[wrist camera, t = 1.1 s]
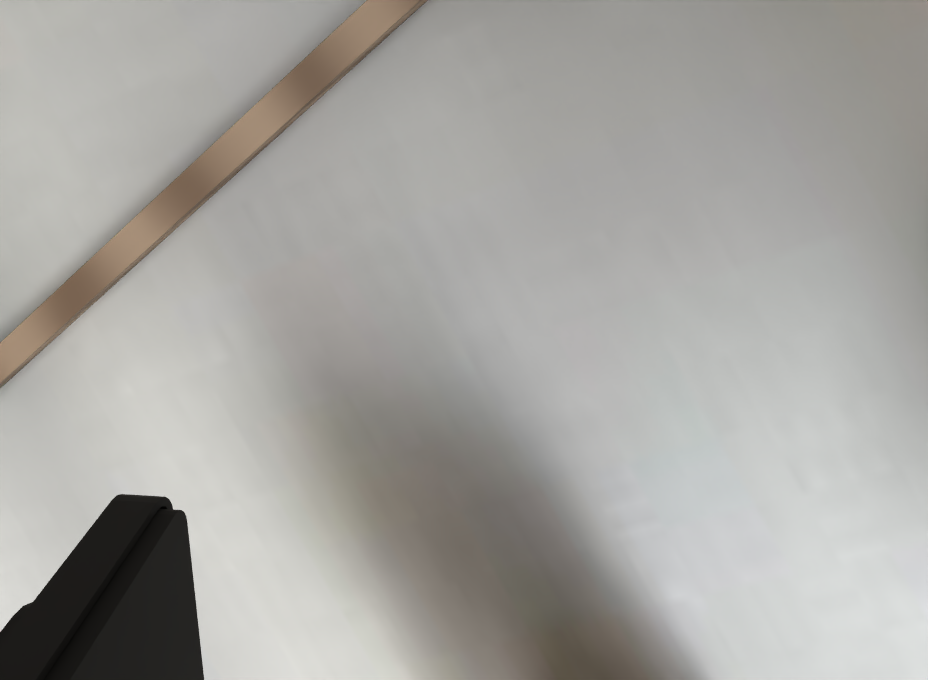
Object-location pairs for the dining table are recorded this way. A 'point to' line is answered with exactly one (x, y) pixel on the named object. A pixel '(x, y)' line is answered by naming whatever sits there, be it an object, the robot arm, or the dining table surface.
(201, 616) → the dining table surface
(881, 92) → the dining table surface
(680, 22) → the dining table surface
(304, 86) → the track
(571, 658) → the dining table surface
